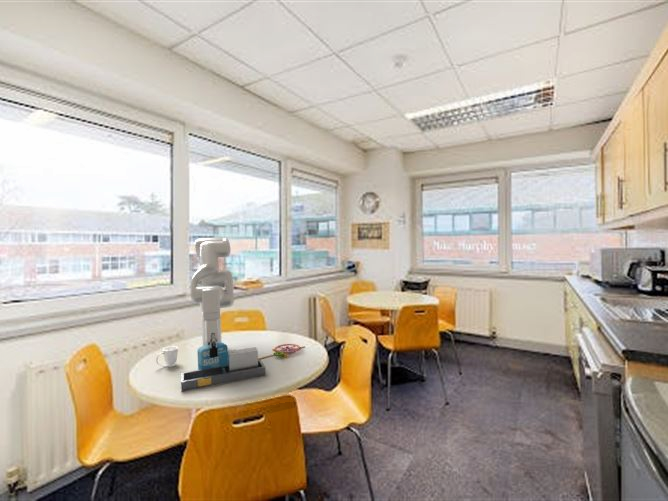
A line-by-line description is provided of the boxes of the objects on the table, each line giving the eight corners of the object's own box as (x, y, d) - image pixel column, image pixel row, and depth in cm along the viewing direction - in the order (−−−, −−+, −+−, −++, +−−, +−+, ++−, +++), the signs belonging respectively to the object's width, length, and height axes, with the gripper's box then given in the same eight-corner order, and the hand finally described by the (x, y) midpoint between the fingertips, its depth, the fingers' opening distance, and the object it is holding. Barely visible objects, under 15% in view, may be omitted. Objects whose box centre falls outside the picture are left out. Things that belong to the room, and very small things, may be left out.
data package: (201, 377, 147) (200, 350, 146) (198, 374, 150) (197, 347, 149) (228, 369, 154) (227, 343, 154) (224, 366, 158) (223, 341, 157)
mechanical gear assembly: (312, 351, 178) (296, 345, 189) (312, 343, 178) (296, 337, 189) (260, 366, 158) (246, 358, 170) (260, 357, 158) (246, 350, 170)
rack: (181, 381, 142) (180, 356, 142) (260, 367, 156) (260, 344, 155) (181, 392, 133) (180, 365, 132) (265, 376, 146) (265, 351, 146)
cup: (181, 364, 161) (181, 348, 161) (159, 371, 154) (158, 353, 153) (175, 361, 166) (174, 344, 166) (153, 367, 159) (153, 350, 158)
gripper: (201, 313, 157) (202, 349, 157) (203, 320, 141) (205, 361, 142) (218, 311, 160) (219, 347, 160) (222, 318, 144) (223, 358, 145)
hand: (212, 353), depth 151 cm, fingers open, 9 cm apart
